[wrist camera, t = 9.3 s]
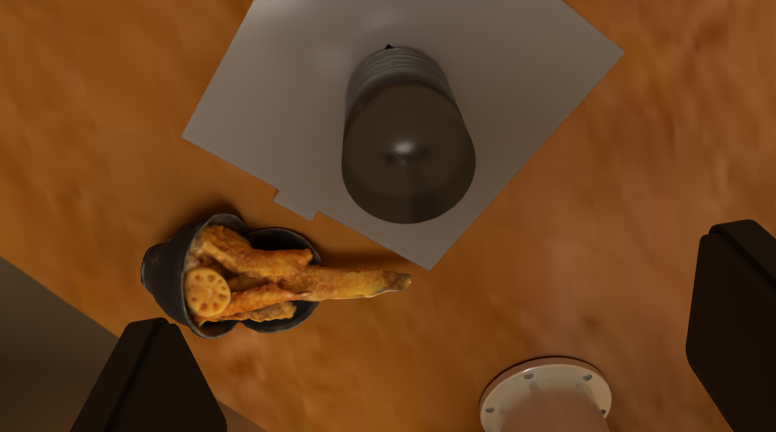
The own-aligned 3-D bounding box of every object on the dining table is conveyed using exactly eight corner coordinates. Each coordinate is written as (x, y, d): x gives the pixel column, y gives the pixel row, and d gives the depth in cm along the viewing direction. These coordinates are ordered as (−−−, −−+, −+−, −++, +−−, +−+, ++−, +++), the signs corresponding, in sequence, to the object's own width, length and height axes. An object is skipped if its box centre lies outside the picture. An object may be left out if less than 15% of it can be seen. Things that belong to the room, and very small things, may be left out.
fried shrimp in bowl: (102, 220, 36) (362, 236, 31) (206, 196, 47) (414, 205, 41) (116, 354, 38) (364, 391, 32) (213, 302, 48) (414, 324, 43)
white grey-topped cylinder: (382, 146, 39) (394, 309, 25) (237, 58, 35) (152, 189, 21) (511, -28, 33) (625, 52, 19) (354, -156, 30) (348, -176, 15)
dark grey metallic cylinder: (402, 115, 32) (435, 315, 18) (285, 40, 29) (214, 202, 15) (487, -1, 29) (611, 130, 15) (364, -96, 26) (369, -51, 12)
